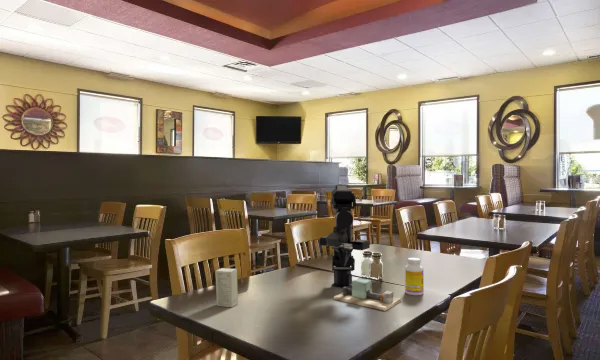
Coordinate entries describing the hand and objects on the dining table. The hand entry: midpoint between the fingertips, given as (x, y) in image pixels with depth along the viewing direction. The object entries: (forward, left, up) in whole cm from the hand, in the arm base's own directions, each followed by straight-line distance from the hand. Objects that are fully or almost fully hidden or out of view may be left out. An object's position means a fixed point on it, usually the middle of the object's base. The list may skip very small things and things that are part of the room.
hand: (343, 266), depth 144 cm
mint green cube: (+8, 0, -9) cm, 12 cm away
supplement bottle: (+20, +18, -11) cm, 29 cm away
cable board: (+10, 0, -11) cm, 14 cm away
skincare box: (-26, -33, -11) cm, 44 cm away
